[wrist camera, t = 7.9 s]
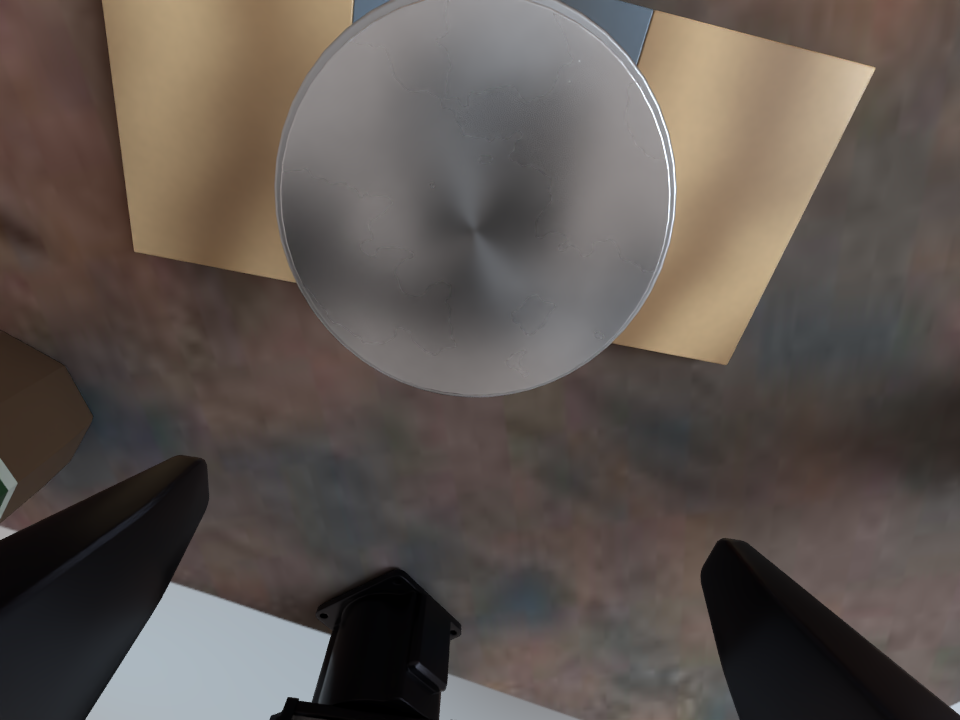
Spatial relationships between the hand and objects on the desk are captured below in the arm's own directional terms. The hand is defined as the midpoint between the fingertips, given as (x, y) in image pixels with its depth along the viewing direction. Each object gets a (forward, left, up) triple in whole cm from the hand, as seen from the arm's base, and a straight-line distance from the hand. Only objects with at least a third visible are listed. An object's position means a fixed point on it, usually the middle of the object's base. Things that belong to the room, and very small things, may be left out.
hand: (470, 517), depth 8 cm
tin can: (+3, +4, -12) cm, 13 cm away
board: (+3, +4, -13) cm, 13 cm away
